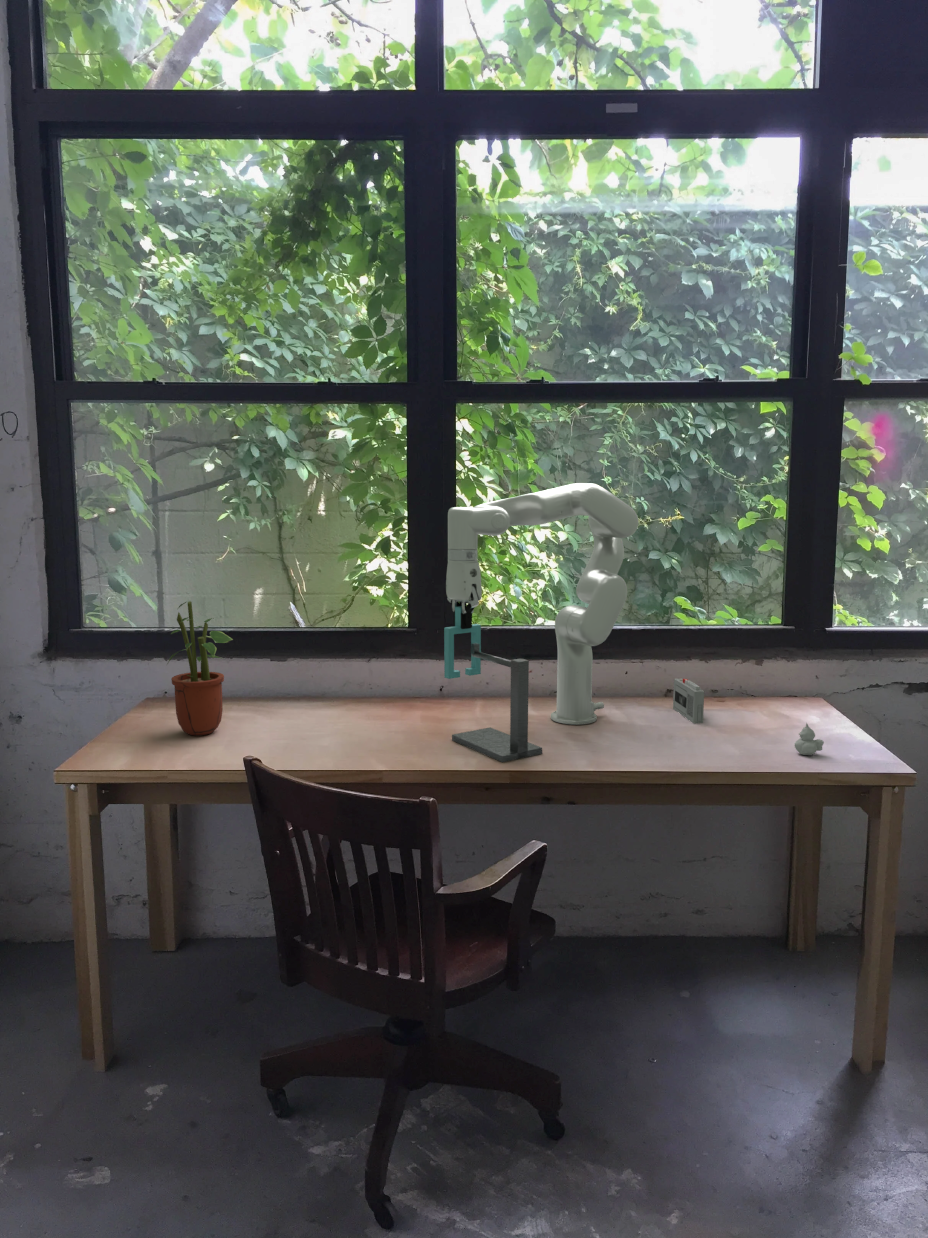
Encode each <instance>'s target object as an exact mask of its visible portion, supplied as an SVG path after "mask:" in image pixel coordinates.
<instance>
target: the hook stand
mask: <svg viewBox="0 0 928 1238" xmlns="http://www.w3.org/2000/svg"><path fill="white" fill-rule="evenodd" d="M471 655H472V656H473V657H476V658H480V659H481V660H483V661H487V662H490V663H494V664H496V665H497V664H498V665H501V666H504V667H509V668H510V710H509V711H510V714H509V715H510V720H509V722H510V724H509V734H508V733H506V732H503V731H501V730H498V729H495V728H493V727H489V726H488V727H486V728H485V727H484V728H479V729H475V730H469V731H464V732H459V733H452V734H451V741H452V742H455V743H457V744H459V745H461V746H464V747H466V748H468V749H471V750H473V751H476V752H478V753H480V754H482V755H485V756H486V757H490V758H492V759H493V760H496V761H498V762H501V763H505V762H509V761H510V762H511V761H515V760H520V759H524V758H529V757H532V756H538V755H543V747H541V746H539V745H536V744H534V743H531V742H529V683H530V681H529V679H530V678H529V676H530V675H529V673H530V672H529V671H530V670H529V669H530V668H529V667H530V664H529V662H530V661H529V660H527V659H524V658H517V659H516V658H515V659H508V658H507V659H506V658H504V657H503V658H502V657H500V656H495V655H492V654H488V653H484V652H482V651H481V652H480V644H478V643H470V656H471Z"/></svg>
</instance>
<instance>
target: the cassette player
mask: <svg viewBox="0 0 928 1238" xmlns="http://www.w3.org/2000/svg"><path fill="white" fill-rule="evenodd" d="M672 697H673V698H672V710H674V711H675V712H676V713H678V712H679V713H680V715H681V716H682V717H684V718H685V717H686V718H687V720H688V721H689V720H690V721H689V722H691V723H692V724H703V723H704V710H705V709H704V708H705V706H704V705H705V691H704V690H703V689H702V688H701V686H699V685H698V684H696V683H695V682H693V681H691V680H689V679H687V678H674V679H673V696H672ZM679 713H678V714H679ZM686 718H685V719H686Z"/></svg>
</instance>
